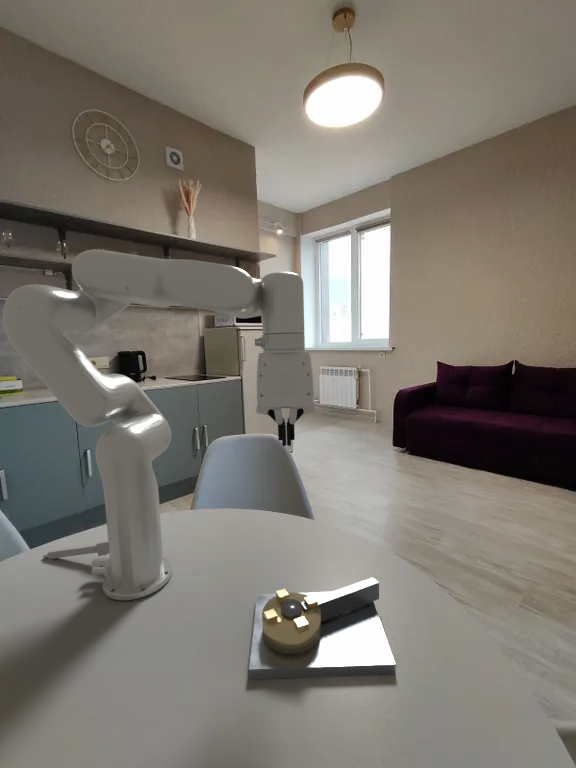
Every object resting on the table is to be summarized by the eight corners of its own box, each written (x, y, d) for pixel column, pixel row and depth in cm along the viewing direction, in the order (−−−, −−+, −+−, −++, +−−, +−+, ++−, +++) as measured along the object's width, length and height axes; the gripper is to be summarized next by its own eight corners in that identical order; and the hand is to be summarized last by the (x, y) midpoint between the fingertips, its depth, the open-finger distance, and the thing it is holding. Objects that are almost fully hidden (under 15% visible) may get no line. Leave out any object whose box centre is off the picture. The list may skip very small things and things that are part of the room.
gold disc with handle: (254, 619, 58) (253, 597, 57) (360, 582, 66) (360, 562, 66) (276, 663, 50) (275, 638, 49) (393, 614, 58) (393, 592, 58)
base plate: (249, 679, 49) (248, 668, 49) (257, 602, 64) (257, 593, 64) (395, 674, 49) (395, 663, 49) (369, 598, 64) (369, 589, 64)
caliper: (130, 563, 77) (130, 533, 77) (127, 565, 76) (127, 535, 76) (46, 556, 80) (46, 528, 81) (42, 558, 79) (42, 529, 80)
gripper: (239, 345, 61) (244, 451, 63) (327, 343, 61) (329, 448, 63) (244, 345, 69) (248, 440, 71) (323, 343, 69) (324, 437, 71)
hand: (286, 443), depth 67 cm, fingers closed
